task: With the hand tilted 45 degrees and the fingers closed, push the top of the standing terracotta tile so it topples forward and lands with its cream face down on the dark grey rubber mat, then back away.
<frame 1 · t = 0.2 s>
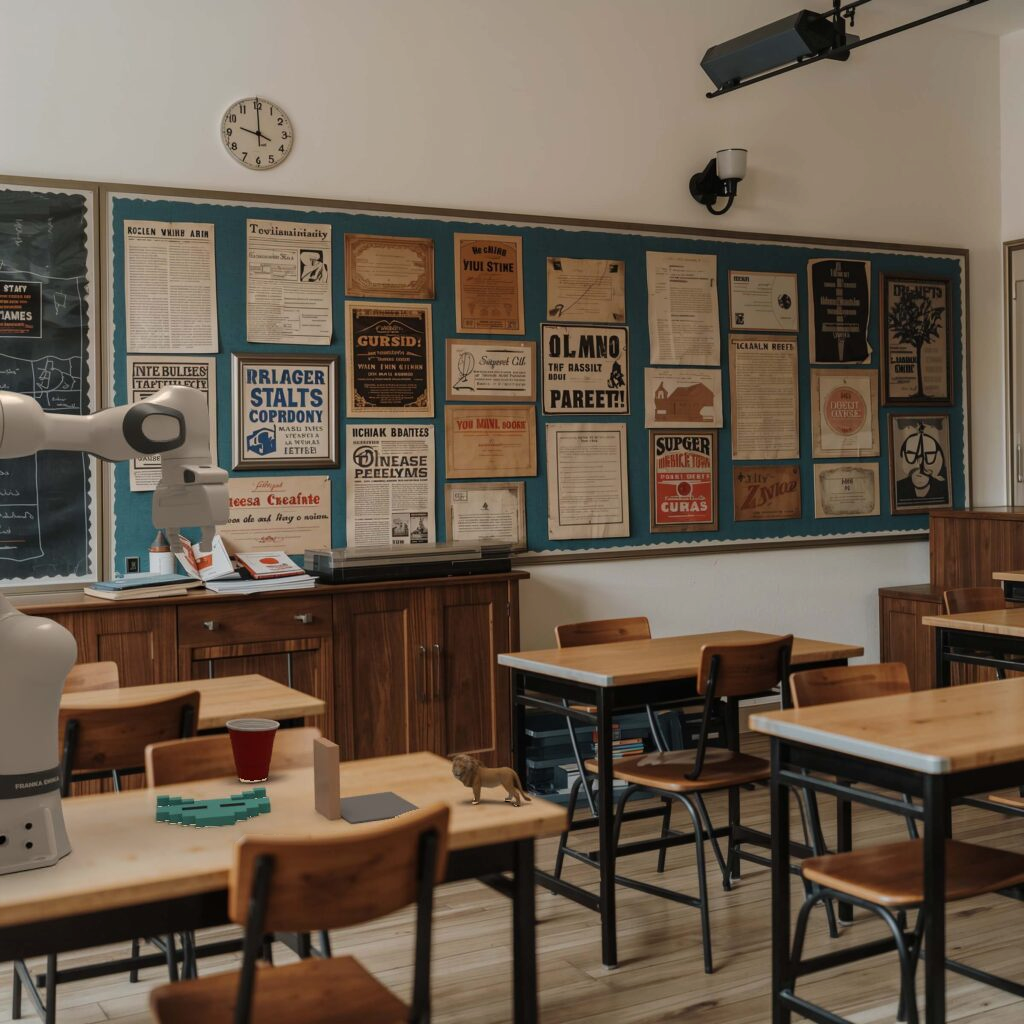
hand: (191, 552, 220), 48 cm above the table, tool pointing down, fingers open, 8 cm apart
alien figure: (213, 816, 224), on the table
mat: (372, 807, 225), on the table
tile: (327, 814, 222), on the table
plastic cup: (254, 781, 250), on the table
lion figurine: (489, 804, 227), on the table
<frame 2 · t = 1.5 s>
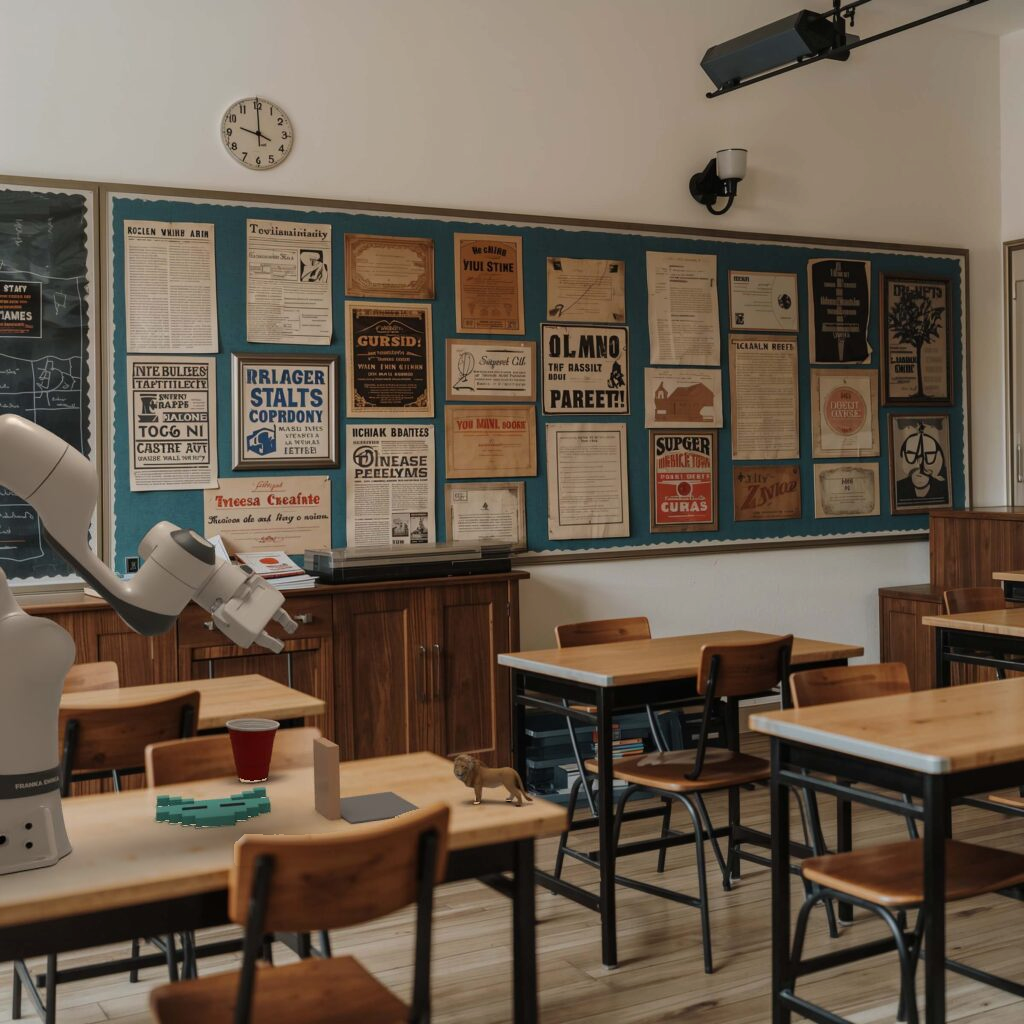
hand: (288, 639, 214), 32 cm above the table, tool tilted 50°, fingers open, 8 cm apart
nothing on the table moved.
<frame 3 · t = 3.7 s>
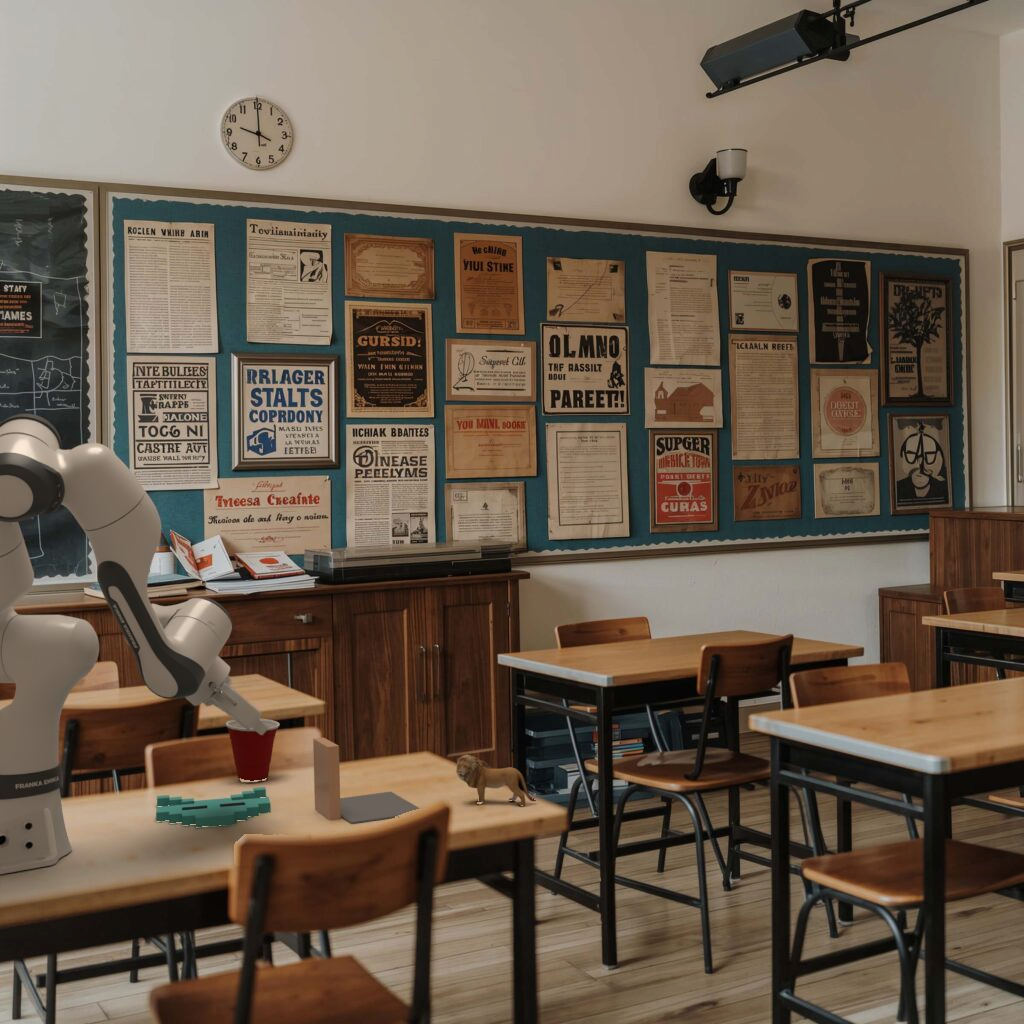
hand: (263, 730, 216), 16 cm above the table, tool tilted 45°, fingers closed
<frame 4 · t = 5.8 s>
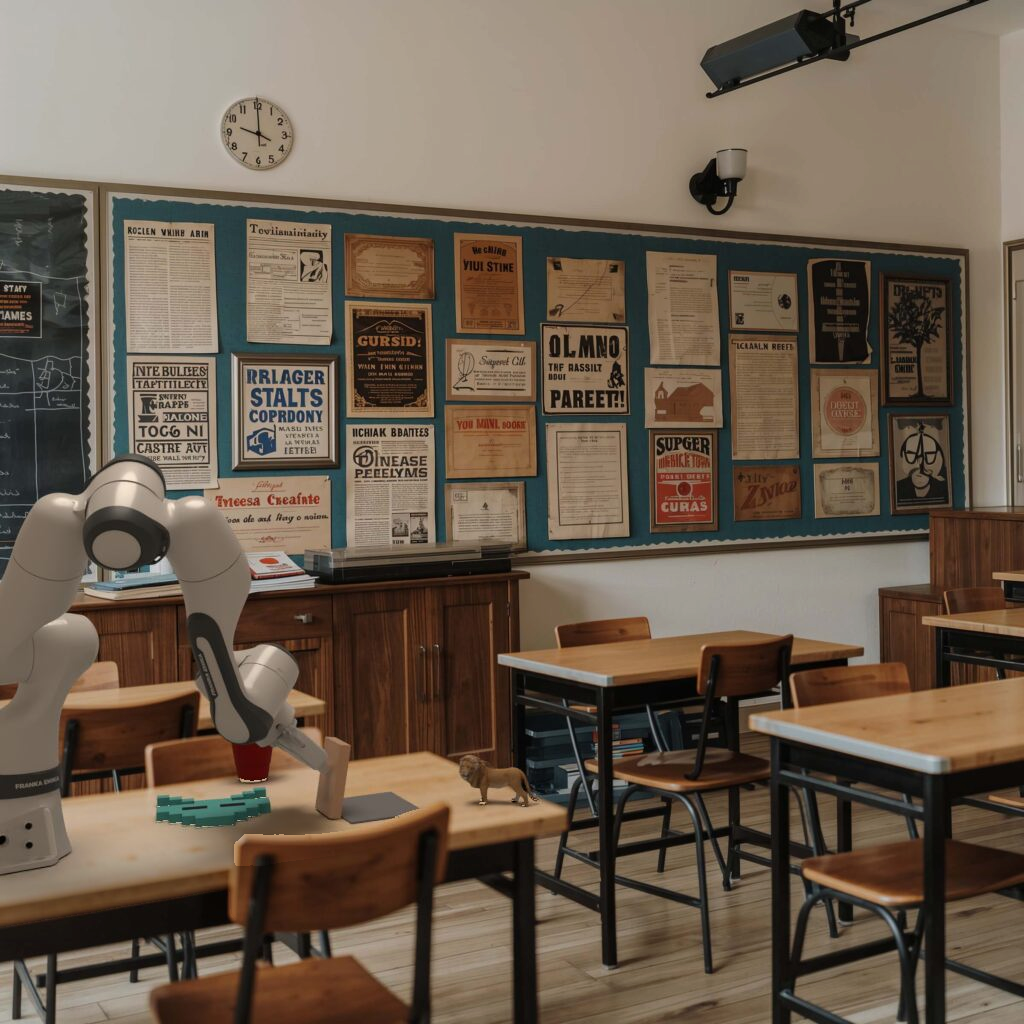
hand: (326, 770, 221), 8 cm above the table, tool tilted 45°, fingers closed
tile: (327, 813, 222), on the table, tilted 10°
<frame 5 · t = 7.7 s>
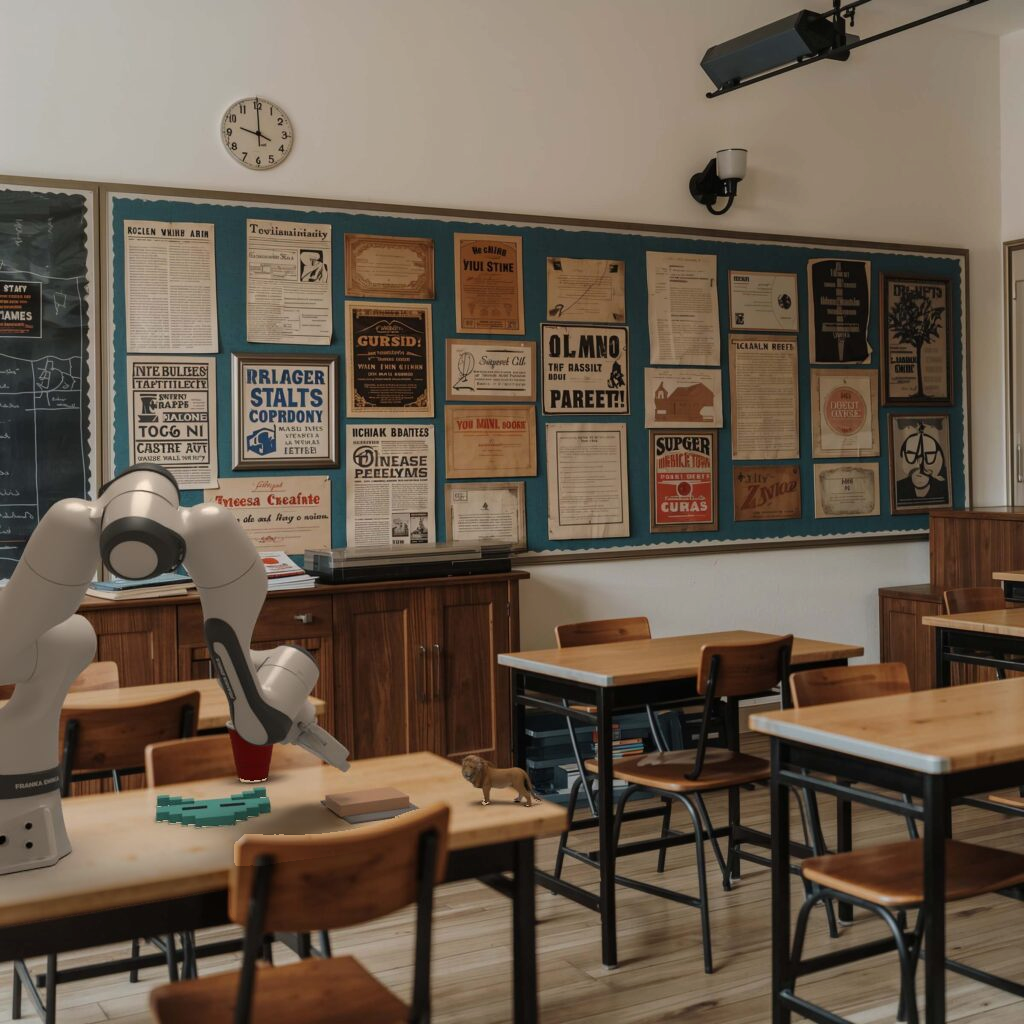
hand: (345, 768, 223), 8 cm above the table, tool tilted 45°, fingers closed
tile: (332, 805, 222), point 1 cm above the table, tilted 90°, touching mat
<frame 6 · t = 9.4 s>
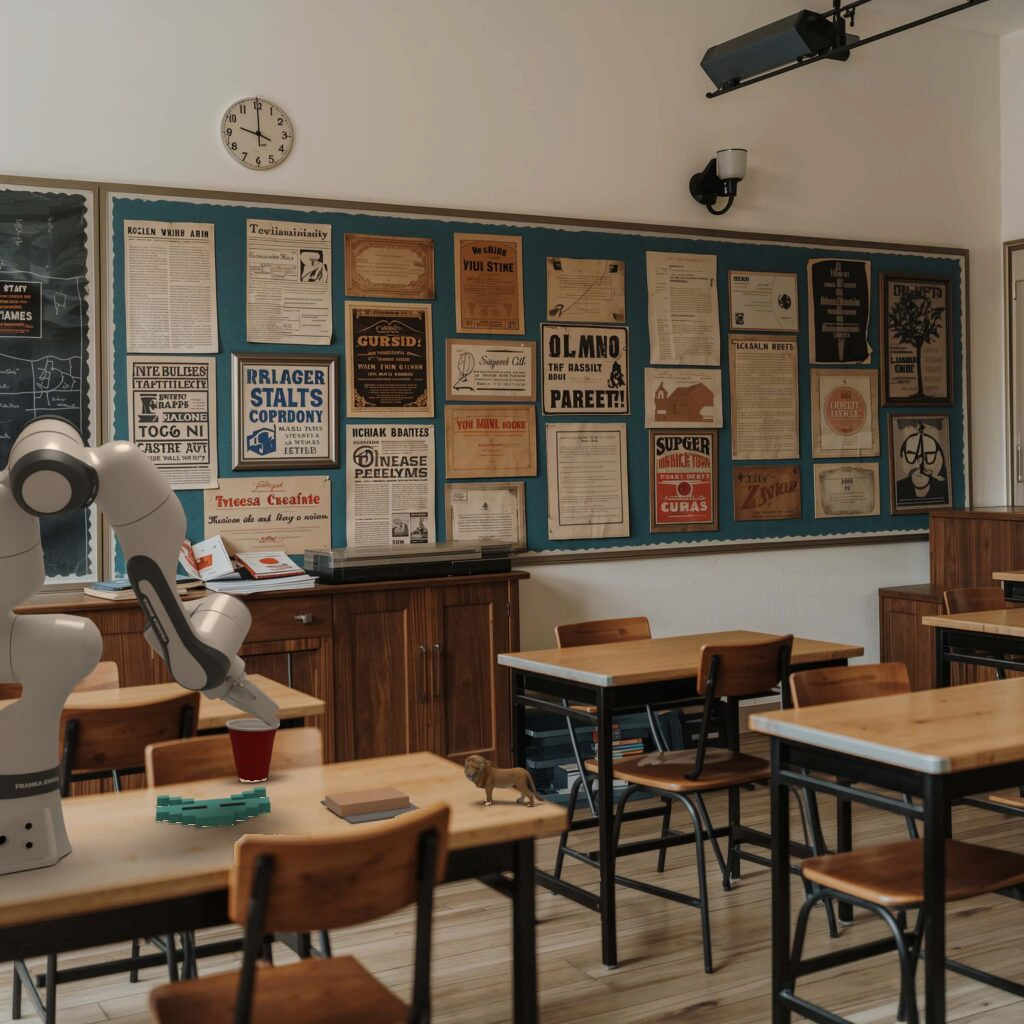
hand: (275, 724, 220), 17 cm above the table, tool tilted 45°, fingers closed
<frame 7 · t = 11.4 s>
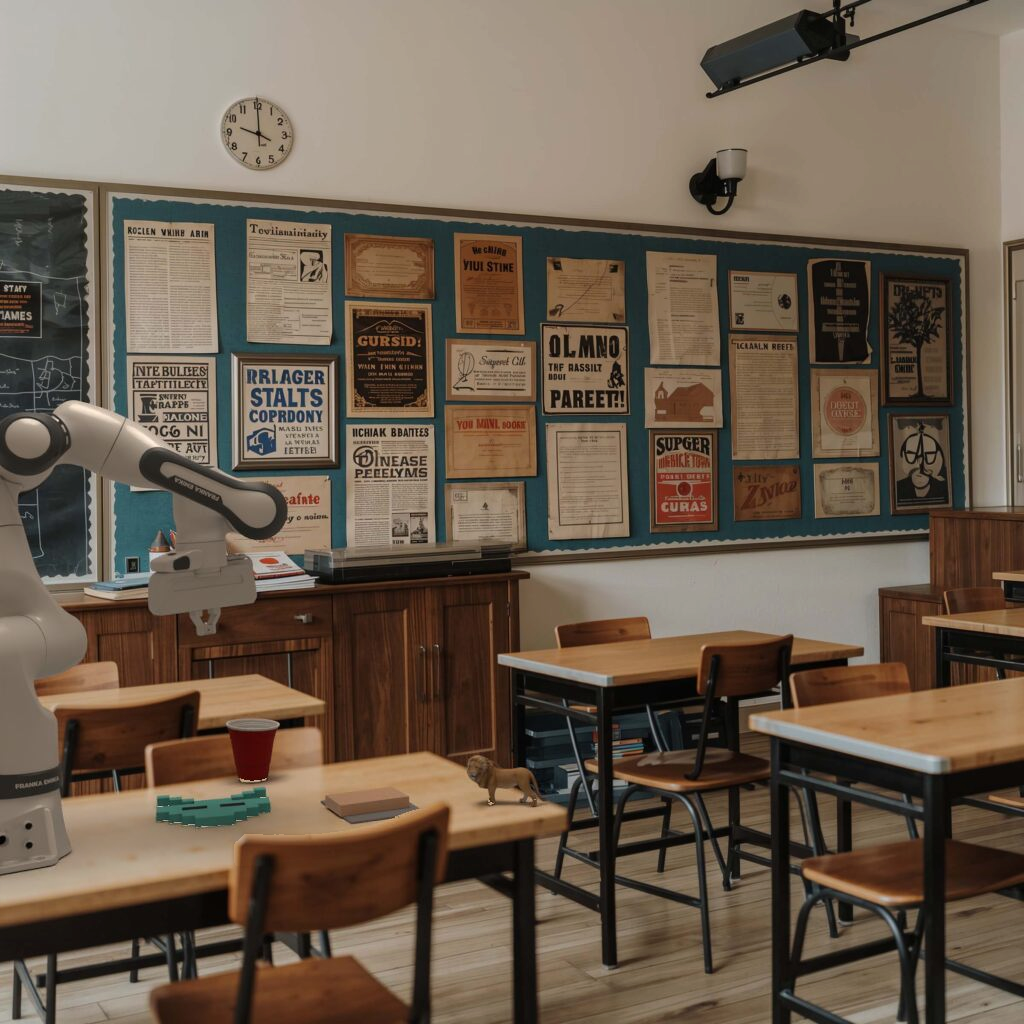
hand: (206, 634, 220), 33 cm above the table, tool pointing down, fingers closed
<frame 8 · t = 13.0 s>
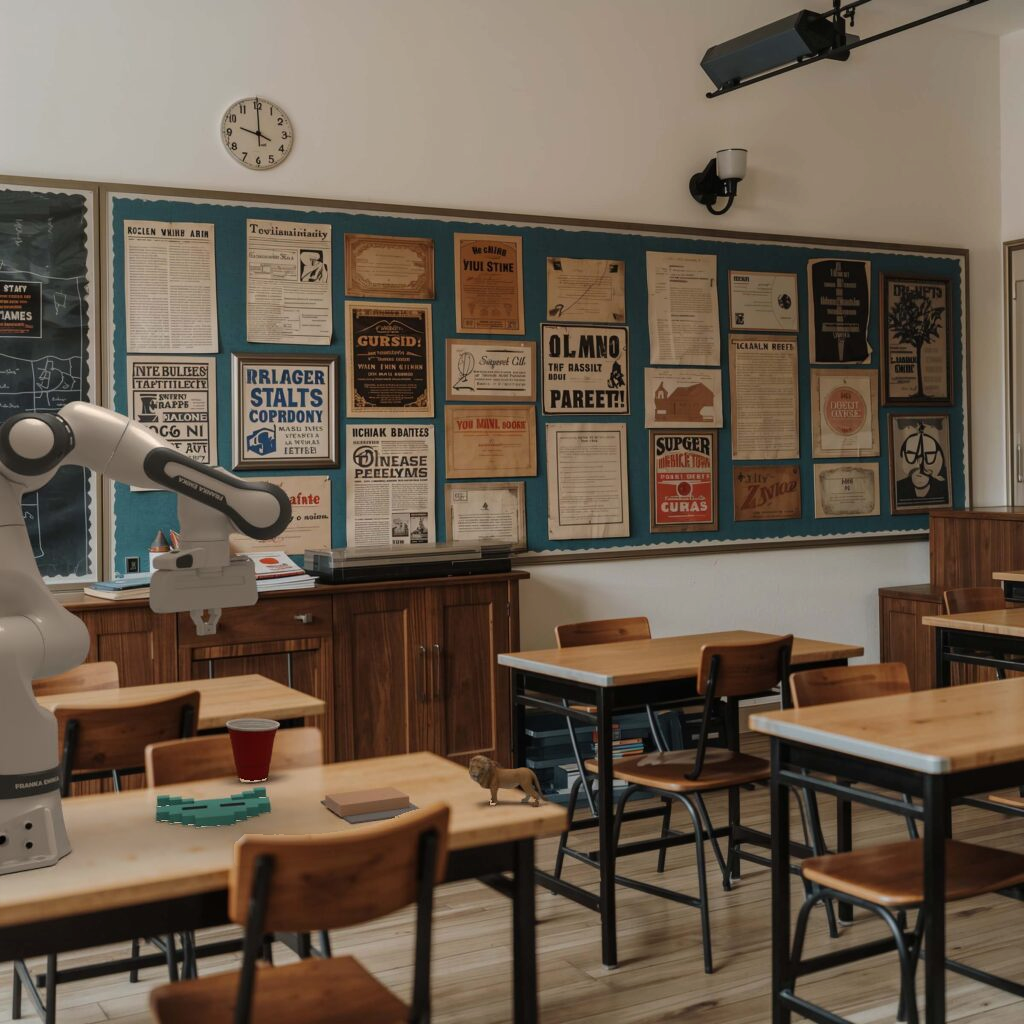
hand: (206, 634, 219), 33 cm above the table, tool pointing down, fingers closed
at the end: tile tilted 90°; tile inside the target area (3.5 cm from its centre), point 1.3 cm above the table; the gripper is holding nothing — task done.
